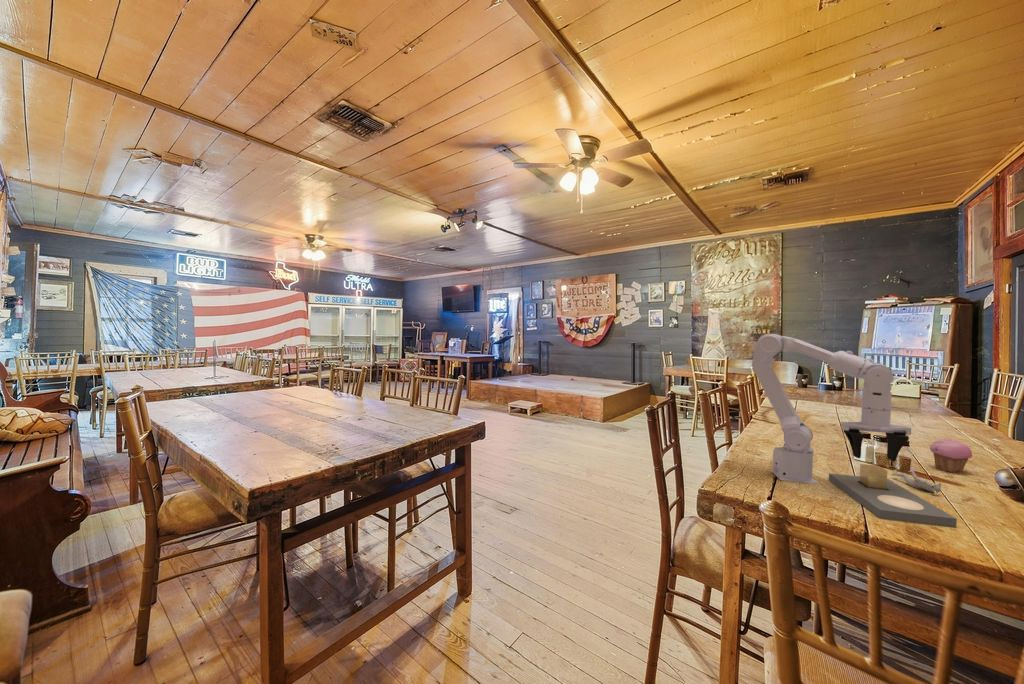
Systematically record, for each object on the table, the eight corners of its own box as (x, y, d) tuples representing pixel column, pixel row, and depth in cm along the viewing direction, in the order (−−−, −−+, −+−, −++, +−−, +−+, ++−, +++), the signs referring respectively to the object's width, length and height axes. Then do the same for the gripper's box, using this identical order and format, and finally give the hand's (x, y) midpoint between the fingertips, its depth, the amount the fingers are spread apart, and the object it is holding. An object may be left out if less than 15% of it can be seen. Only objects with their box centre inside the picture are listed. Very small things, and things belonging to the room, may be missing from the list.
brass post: (867, 494, 104) (868, 468, 104) (859, 488, 108) (860, 464, 108) (886, 496, 103) (887, 470, 103) (876, 490, 107) (877, 465, 106)
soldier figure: (912, 484, 115) (958, 488, 104) (904, 497, 114) (949, 501, 103) (889, 465, 117) (932, 466, 105) (881, 476, 116) (923, 479, 104)
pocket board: (879, 520, 91) (879, 508, 91) (828, 481, 114) (829, 472, 114) (956, 529, 87) (956, 517, 87) (887, 487, 110) (888, 478, 110)
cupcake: (947, 465, 129) (949, 435, 128) (980, 475, 120) (981, 443, 120) (921, 465, 128) (923, 435, 128) (952, 475, 120) (953, 443, 119)
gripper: (851, 409, 103) (849, 460, 103) (920, 413, 99) (918, 466, 99) (837, 404, 110) (835, 452, 110) (901, 408, 105) (899, 457, 106)
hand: (873, 458), depth 105 cm, fingers open, 7 cm apart
